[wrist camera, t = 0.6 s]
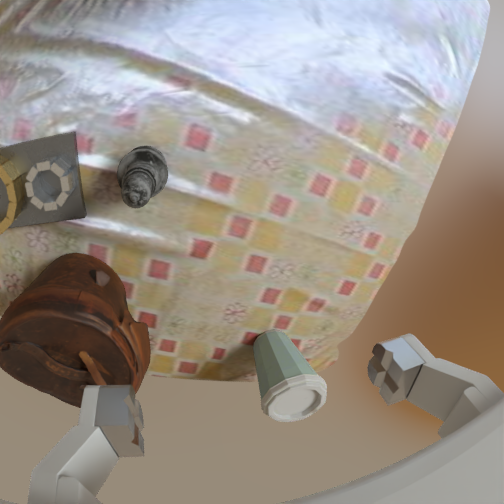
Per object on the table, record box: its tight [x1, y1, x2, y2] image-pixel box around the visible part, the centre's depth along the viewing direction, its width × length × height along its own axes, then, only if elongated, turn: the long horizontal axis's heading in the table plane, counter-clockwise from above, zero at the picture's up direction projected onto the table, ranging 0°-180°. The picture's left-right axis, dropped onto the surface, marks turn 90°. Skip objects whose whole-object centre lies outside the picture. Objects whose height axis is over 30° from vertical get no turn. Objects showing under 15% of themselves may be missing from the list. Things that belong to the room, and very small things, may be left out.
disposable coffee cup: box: [253, 330, 327, 422], centre depth 49 cm, size 11×11×15 cm
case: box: [0, 253, 151, 408], centre depth 35 cm, size 18×20×18 cm
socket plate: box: [0, 132, 86, 234], centre depth 31 cm, size 11×19×4 cm, turn 88°
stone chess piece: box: [117, 146, 168, 208], centre depth 31 cm, size 6×6×12 cm
